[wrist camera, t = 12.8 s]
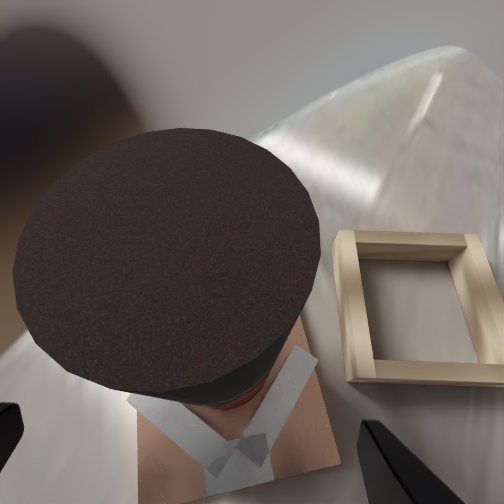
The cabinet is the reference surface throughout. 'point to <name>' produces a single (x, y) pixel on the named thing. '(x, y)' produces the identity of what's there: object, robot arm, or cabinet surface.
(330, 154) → the cabinet surface
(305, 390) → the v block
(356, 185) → the cabinet surface
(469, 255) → the beige square frame
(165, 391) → the deodorant
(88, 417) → the cabinet surface
